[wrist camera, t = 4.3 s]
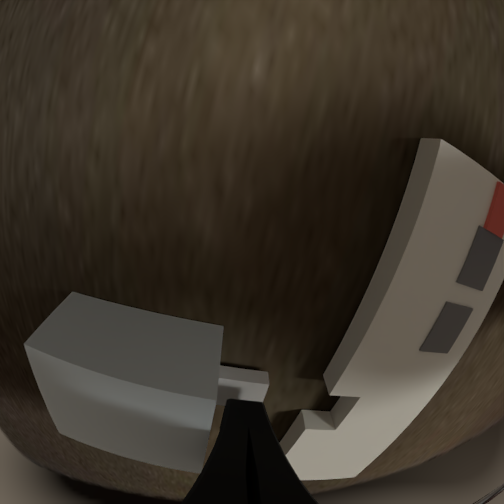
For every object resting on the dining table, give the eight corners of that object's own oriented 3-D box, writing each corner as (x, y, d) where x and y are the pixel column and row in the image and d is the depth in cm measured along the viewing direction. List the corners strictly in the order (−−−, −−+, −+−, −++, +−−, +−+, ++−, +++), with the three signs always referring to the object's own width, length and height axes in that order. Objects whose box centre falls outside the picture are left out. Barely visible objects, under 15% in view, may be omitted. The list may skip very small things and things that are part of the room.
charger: (278, 334, 10) (291, 408, 7) (250, 415, 12) (252, 478, 9) (72, 291, 10) (23, 343, 6) (86, 379, 11) (59, 432, 8)
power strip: (511, 199, 9) (532, 207, 7) (350, 463, 14) (354, 479, 13) (420, 137, 8) (444, 138, 7) (264, 463, 14) (265, 482, 12)
